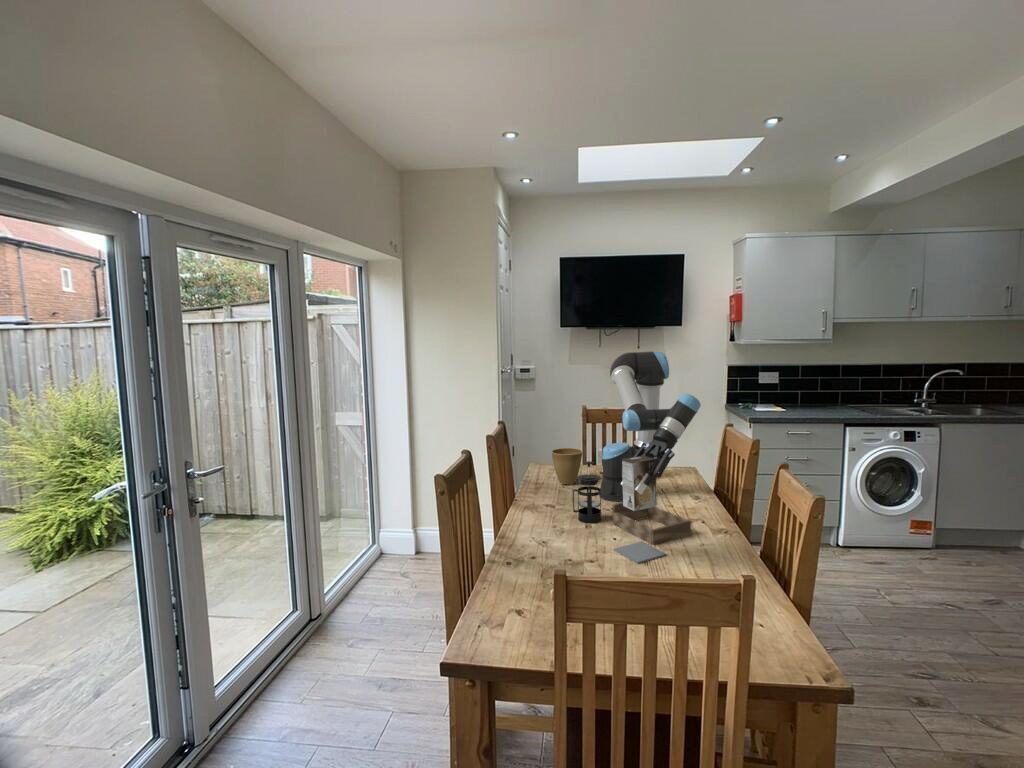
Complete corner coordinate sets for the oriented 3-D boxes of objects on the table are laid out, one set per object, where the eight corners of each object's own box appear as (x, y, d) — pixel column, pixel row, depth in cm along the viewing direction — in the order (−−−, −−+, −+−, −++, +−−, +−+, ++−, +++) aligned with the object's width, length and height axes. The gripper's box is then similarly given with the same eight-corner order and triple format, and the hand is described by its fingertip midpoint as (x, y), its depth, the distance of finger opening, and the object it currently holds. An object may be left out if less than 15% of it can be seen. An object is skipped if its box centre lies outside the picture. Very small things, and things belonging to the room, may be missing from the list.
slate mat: (613, 550, 179) (613, 548, 179) (641, 543, 184) (641, 541, 184) (637, 563, 168) (637, 561, 168) (666, 555, 174) (666, 553, 173)
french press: (603, 515, 213) (602, 459, 211) (604, 523, 204) (603, 465, 201) (573, 514, 214) (572, 459, 212) (573, 523, 205) (571, 465, 203)
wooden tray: (612, 524, 202) (612, 504, 201) (648, 516, 210) (647, 496, 209) (653, 544, 182) (653, 522, 182) (690, 534, 190) (690, 512, 189)
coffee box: (644, 501, 179) (644, 454, 178) (657, 506, 174) (656, 458, 172) (622, 506, 176) (621, 458, 174) (634, 511, 170) (633, 462, 168)
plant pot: (584, 487, 251) (584, 454, 250) (553, 488, 252) (552, 455, 250) (581, 478, 266) (580, 447, 265) (551, 479, 266) (550, 448, 265)
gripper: (696, 445, 171) (658, 503, 165) (654, 436, 188) (618, 488, 182) (684, 431, 168) (644, 490, 162) (642, 422, 185) (605, 475, 180)
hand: (630, 489), depth 172 cm, fingers closed on coffee box, 7 cm apart
